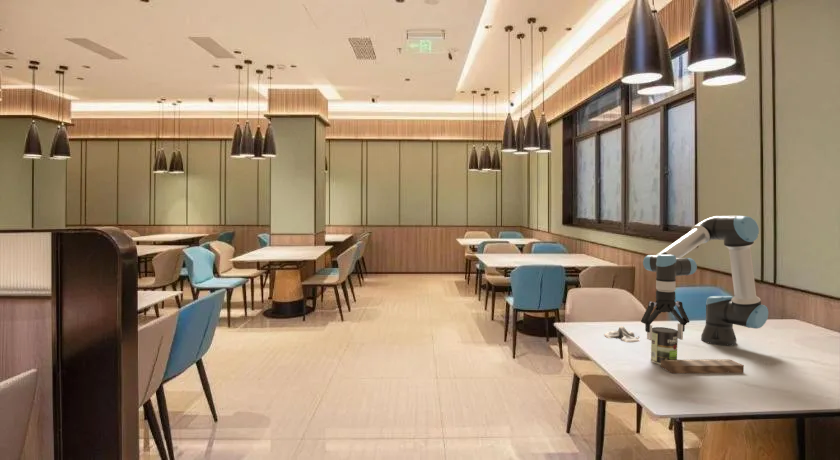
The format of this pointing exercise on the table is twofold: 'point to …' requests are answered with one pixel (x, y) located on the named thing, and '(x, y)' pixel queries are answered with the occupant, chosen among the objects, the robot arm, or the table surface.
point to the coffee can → (663, 344)
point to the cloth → (622, 335)
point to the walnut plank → (702, 366)
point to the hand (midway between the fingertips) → (664, 339)
